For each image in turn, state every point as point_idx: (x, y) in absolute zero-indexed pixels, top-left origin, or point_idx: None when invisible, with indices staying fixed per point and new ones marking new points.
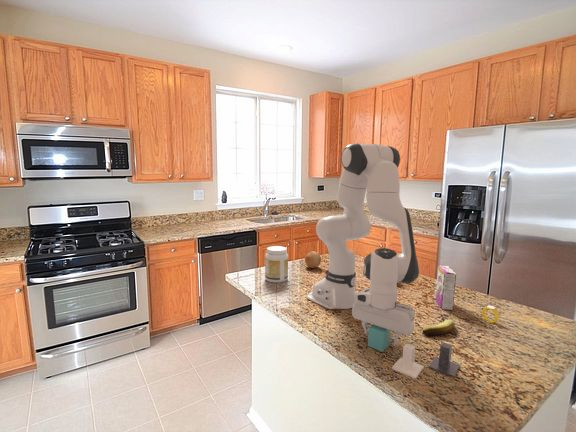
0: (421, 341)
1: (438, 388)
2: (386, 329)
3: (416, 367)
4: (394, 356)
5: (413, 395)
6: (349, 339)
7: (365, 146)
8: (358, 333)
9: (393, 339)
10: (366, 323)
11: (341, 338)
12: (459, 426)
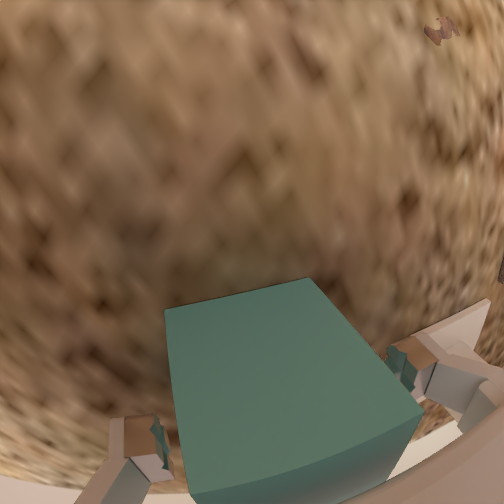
0: (449, 22)
1: (500, 342)
2: (390, 464)
3: (469, 335)
4: (379, 347)
5: (446, 415)
6: (64, 427)
7: None
8: (8, 331)
9: (419, 394)
10: (107, 502)
11: (39, 442)
12: None
